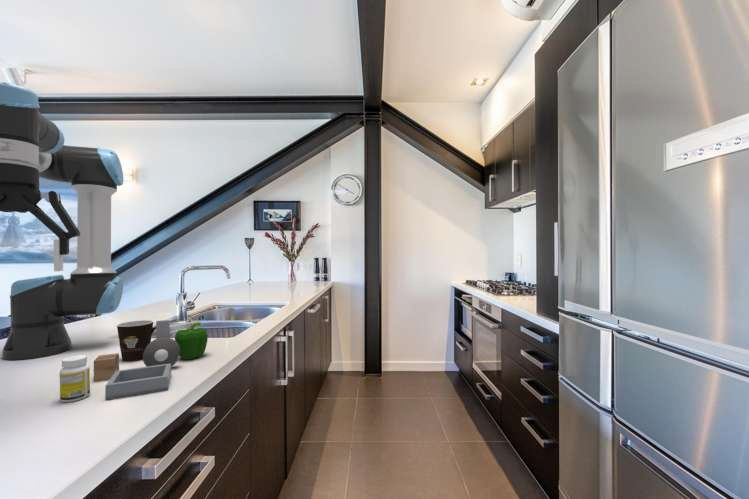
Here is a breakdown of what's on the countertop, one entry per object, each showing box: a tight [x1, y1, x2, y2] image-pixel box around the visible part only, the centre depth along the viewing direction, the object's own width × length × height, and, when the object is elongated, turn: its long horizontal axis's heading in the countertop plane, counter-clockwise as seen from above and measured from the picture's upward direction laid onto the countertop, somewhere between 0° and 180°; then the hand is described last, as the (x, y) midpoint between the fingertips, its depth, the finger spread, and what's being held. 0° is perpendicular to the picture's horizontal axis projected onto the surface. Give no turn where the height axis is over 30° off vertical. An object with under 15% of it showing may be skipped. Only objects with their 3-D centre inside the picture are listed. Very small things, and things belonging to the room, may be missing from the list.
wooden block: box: [93, 352, 120, 383], centre depth 84 cm, size 5×4×5 cm
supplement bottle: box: [59, 354, 91, 403], centre depth 72 cm, size 5×5×8 cm
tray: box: [104, 363, 172, 401], centre depth 78 cm, size 10×11×3 cm
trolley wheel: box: [142, 319, 180, 368], centre depth 91 cm, size 6×8×12 cm
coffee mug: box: [116, 319, 156, 363], centre depth 99 cm, size 12×9×10 cm
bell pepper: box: [174, 321, 209, 360], centre depth 100 cm, size 8×8×10 cm
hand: (13, 272), depth 69 cm, fingers open, 13 cm apart
